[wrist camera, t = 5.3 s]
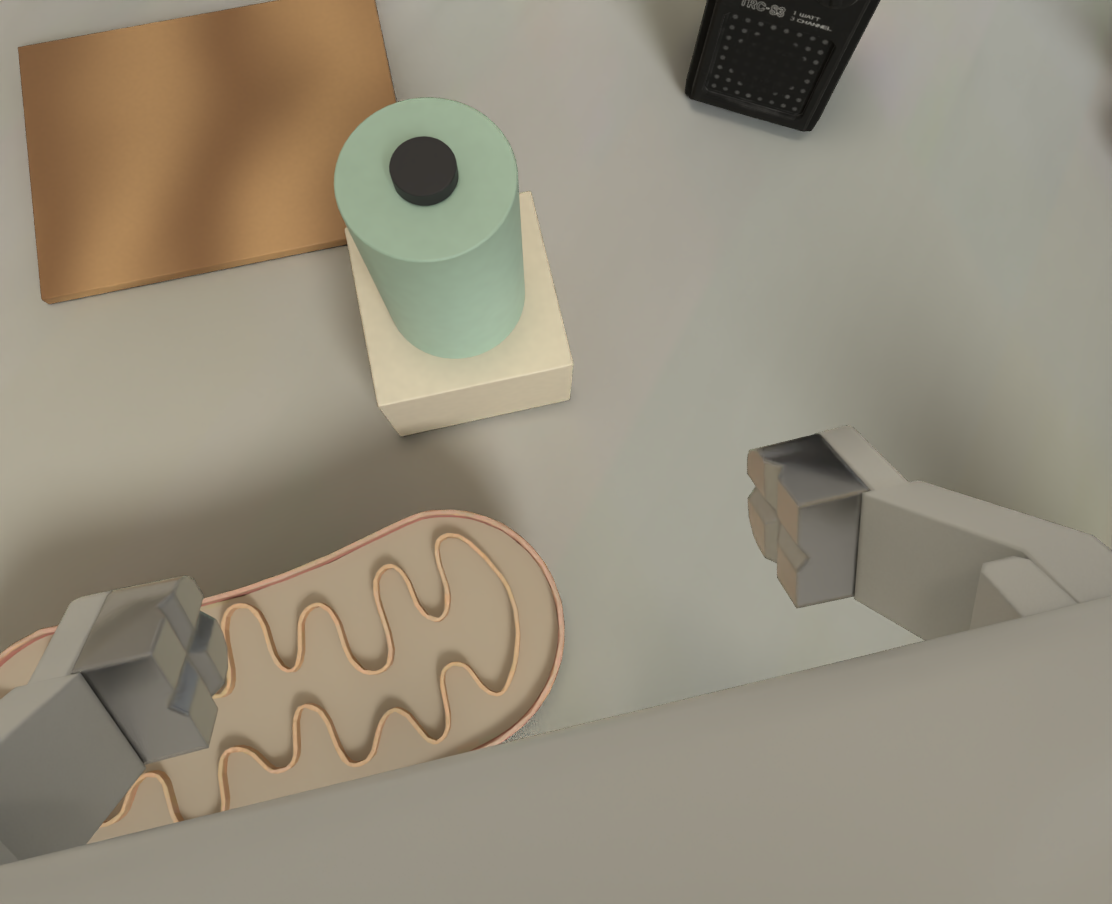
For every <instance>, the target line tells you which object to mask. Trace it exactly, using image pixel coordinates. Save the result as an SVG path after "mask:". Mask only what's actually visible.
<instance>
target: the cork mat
mask: <svg viewBox="0 0 1112 904" xmlns="http://www.w3.org/2000/svg"><path fill="white" fill-rule="evenodd" d="M18 53H19V64H20V74H21V85H22V96H23V107H24V117H25V128H26V139H27V149H28V160H29V171H30V182H31V192H32V203H33V214H34V225H35V235H36V246H37V257H38V267H39V278H40V289H41V299H42V300H43V301H45V302H46V303H48V304H52V303H57V302H62V301H67V300H72V299H77V298H82V297H87V296H92V295H97V294H102V293H107V292H112V291H117V290H122V289H127V288H132V287H137V286H142V285H147V284H152V283H157V282H162V281H167V280H172V279H177V278H182V277H187V276H192V275H197V274H202V273H207V272H212V271H217V270H222V269H227V268H232V267H237V266H242V265H247V264H251V263H256V262H261V261H266V260H271V259H276V258H281V257H286V256H291V255H296V254H301V253H306V252H311V251H316V250H321V249H326V248H331V247H336V246H341V245H346V244H347V240H346V235H345V228H346V227H347V226H346V224H345V222H344V220H343V218H342V216H341V213H340V211H339V209H338V206H337V202H336V199H335V192H334V173H335V167H336V163H337V160H338V157H339V154H340V151H341V149H342V147H343V145H344V143H345V142H346V140H347V139H348V137H349V136H350V134H351V133H352V132H353V131H354V130H355V129H356V128H357V126H358V125H359V124H361V123H362V122H363V121H364V120H365V119H366V118H368V117H369V116H370V115H372V114H373V113H375V112H376V111H378V110H380V109H382V108H384V107H386V106H388V105H391V104H394V103H396V97H395V92H394V87H393V83H392V78H391V73H390V68H389V64H388V59H387V54H386V49H385V45H384V40H383V35H382V30H381V26H380V21H379V16H378V11H377V7H376V2H375V0H277V1H271V2H265V3H260V4H254V5H249V6H243V7H238V8H232V9H227V10H221V11H216V12H210V13H205V14H199V15H193V16H188V17H182V18H177V19H171V20H166V21H160V22H155V23H149V24H144V25H138V26H133V27H127V28H121V29H116V30H110V31H105V32H99V33H94V34H88V35H83V36H77V37H72V38H66V39H61V40H55V41H49V42H44V43H38V44H33V45H27V46H22V47H18Z"/></svg>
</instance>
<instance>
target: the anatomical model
mask: <svg viewBox="0 0 1112 904" xmlns="http://www.w3.org/2000/svg"><path fill="white" fill-rule="evenodd" d="M200 611H202V612H204V613H206V614H208V615H210V616H211V617H213V618H215V619H217V621H218V623H219V625H220V627H221V629H222V631H223V634H224V637H225V641H226V644H227V649H228V671H227V676H226V680H225V684H224V685H223V686H222V687H221V688H220V689H219V690H218V691H217V692H216V693H215V694H214V695H213V697H212V698H213V700H214V701H215V703H216V705H217V707H218V713H217V717H216V721H215V725H214V729H213V733H212V737H211V741H210V745H209V748H207V749H203V750H199V751H195V752H192V753H188V754H184V755H180V756H177V757H173V758H169V759H165V760H161V761H158V762H154V763H150V764H146V765H145V766H146V769H145V770H144V771H143V773H142V774H141V775H140V776H139V778H138V779H137V780H136V781H135V783H134V784H133V785H132V787H131V788H130V789H129V790H128V792H127V793H126V794H125V795H124V797H123V798H122V799H121V801H120V802H119V803H118V804H117V806H116V807H115V808H114V809H113V811H112V812H111V813H110V814H109V816H108V817H107V818H106V820H105V821H104V822H103V823H102V825H101V826H100V827H99V828H98V830H97V831H96V832H95V834H94V835H93V836H92V837H91V839H90V840H89V841H88V842H87V844H90V843H94V842H98V841H102V840H106V839H110V838H114V837H119V836H123V835H127V834H131V833H135V832H139V831H143V830H147V829H152V828H156V827H160V826H164V825H168V824H172V823H176V822H180V821H185V820H189V819H193V818H197V817H201V816H205V815H209V814H213V813H218V812H222V811H226V810H230V809H234V808H238V807H242V806H247V805H251V804H255V803H259V802H263V801H267V800H271V799H275V798H280V797H284V796H288V795H292V794H296V793H300V792H304V791H308V790H313V789H317V788H321V787H325V786H329V785H333V784H337V783H341V782H346V781H350V780H354V779H358V778H362V777H366V776H370V775H375V774H379V773H383V772H387V771H391V770H395V769H399V768H403V767H408V766H412V765H416V764H420V763H424V762H428V761H432V760H436V759H440V758H444V757H449V756H453V755H457V754H461V753H465V752H469V751H473V750H477V749H481V748H485V747H489V746H494V745H498V744H500V743H502V742H503V741H505V740H506V739H508V738H509V737H510V736H512V735H513V734H514V733H515V732H517V731H518V730H519V729H520V728H522V727H523V726H524V725H525V724H526V723H527V722H528V721H529V719H530V718H531V717H532V716H533V715H534V714H535V713H536V712H537V711H538V709H539V708H540V706H541V705H542V703H543V701H544V700H545V698H546V697H547V695H548V694H549V692H550V690H551V688H552V686H553V683H554V681H555V679H556V677H557V674H558V670H559V667H560V664H561V660H562V654H563V647H564V629H565V624H564V616H563V609H562V602H561V599H560V596H559V593H558V590H557V587H556V584H555V581H554V579H553V577H552V575H551V573H550V571H549V570H548V568H547V566H546V564H545V563H544V561H543V560H542V559H541V557H540V556H539V555H538V553H537V552H536V551H535V550H534V548H533V547H532V546H531V545H530V544H529V543H528V542H527V541H525V540H524V539H523V538H522V537H521V536H520V535H519V534H517V533H516V532H514V531H513V530H512V529H510V528H509V527H507V526H506V525H505V524H503V523H500V522H498V521H496V520H493V519H491V518H489V517H486V516H482V515H479V514H475V513H472V512H469V511H459V510H430V511H425V512H420V513H417V514H415V515H412V516H410V517H407V518H405V519H402V520H400V521H398V522H396V523H394V524H392V525H389V526H387V527H385V528H383V529H381V530H379V531H377V532H375V533H373V534H371V535H369V536H366V537H364V538H362V539H360V540H358V541H356V542H354V543H352V544H350V545H348V546H346V547H343V548H341V549H339V550H337V551H335V552H333V553H331V554H329V555H326V556H324V557H321V558H319V559H317V560H314V561H312V562H309V563H307V564H305V565H302V566H300V567H297V568H295V569H293V570H290V571H288V572H285V573H283V574H280V575H277V576H274V577H271V578H268V579H265V580H263V581H260V582H257V583H254V584H251V585H248V586H245V587H242V588H239V589H236V590H232V591H229V592H225V593H222V594H218V595H215V596H211V597H207V598H204V599H203V601H202V605H201V608H200ZM57 627H58V625H57V626H52V627H47V628H42V629H40V630H38V631H36V632H34V633H32V634H30V635H28V636H27V637H25V638H23V639H21V640H19V641H17V642H15V643H13V644H12V645H11V646H9V647H8V648H7V649H6V650H4V651H3V652H2V653H1V654H0V699H2V698H3V697H4V696H5V695H6V694H8V693H9V692H10V691H11V690H13V689H14V688H15V687H19V686H23V685H27V684H28V682H29V680H30V678H31V676H32V674H33V673H34V671H35V669H36V667H37V665H38V663H39V661H40V659H41V657H42V656H43V654H44V652H45V650H46V648H47V646H48V644H49V642H50V640H51V638H52V637H53V635H54V633H55V631H56V629H57Z"/></svg>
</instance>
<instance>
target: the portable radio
mask: <svg viewBox="0 0 1112 904" xmlns="http://www.w3.org/2000/svg"><path fill="white" fill-rule="evenodd" d="M879 2H880V0H707V3H706V6H705V10H704V14H703V18H702V22H701V26H700V30H699V34H698V37H697V41H696V45H695V49H694V53H693V56H692V60H691V64H690V68H689V72H688V76H687V79H686V87H685V93H686V94H687V95H688V96H689V97H690V98H691V99H694V100H697V101H701V102H704V103H707V104H711V105H714V106H717V107H721V108H724V109H727V110H730V111H734V112H737V113H740V114H744V115H747V116H751V117H754V118H758V119H761V120H765V121H769V122H772V123H776V124H779V125H783V126H786V127H790V128H794V129H797V130H801V131H811V130H812V129H813V127H814V126H815V124H816V123H817V121H818V120H819V118H820V117H821V115H822V113H823V111H824V109H825V107H826V105H827V103H828V101H829V99H830V97H831V95H832V93H833V91H834V89H835V87H836V85H837V83H838V81H839V79H840V77H841V75H842V73H843V71H844V69H845V68H846V66H847V64H848V62H849V60H850V58H851V56H852V54H853V52H854V50H855V48H856V46H857V44H858V42H859V41H860V39H861V37H862V35H863V33H864V31H865V29H866V27H867V25H868V23H869V21H870V19H871V17H872V16H873V14H874V12H875V10H876V8H877V6H878V4H879Z"/></svg>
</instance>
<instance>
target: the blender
mask: <svg viewBox="0 0 1112 904" xmlns="http://www.w3.org/2000/svg"><path fill="white" fill-rule="evenodd" d="M334 192H335V199H336V202H337V206H338V209H339V211H340V213H341V216H342V218H343V220H344V222H345V224H346V226H347V227H346V228H345V235H346V240H347V245H348V251H349V256H350V261H351V267H352V272H353V277H354V283H355V288H356V293H357V299H358V304H359V309H360V315H361V320H362V325H363V331H364V336H365V341H366V347H367V352H368V357H369V363H370V368H371V374H372V379H373V384H374V390H375V395H376V400H377V406H378V407H379V408H380V410H381V411H382V412H383V414H384V415H385V416H386V418H387V419H388V420H389V422H390V423H391V424H392V426H393V427H394V428H395V430H396V431H397V432H398V434H399V435H400V436H406V435H410V434H415V433H420V432H424V431H429V430H433V429H438V428H443V427H447V426H452V425H456V424H461V423H466V422H470V421H475V420H479V419H484V418H489V417H493V416H498V415H503V414H507V413H512V412H516V411H521V410H526V409H530V408H535V407H539V406H544V405H549V404H553V403H558V402H562V401H567V400H569V399H570V392H571V383H572V373H573V360H572V355H571V351H570V347H569V343H568V339H567V335H566V331H565V327H564V323H563V319H562V315H561V311H560V307H559V303H558V299H557V295H556V291H555V286H554V282H553V278H552V274H551V270H550V266H549V262H548V258H547V254H546V250H545V246H544V242H543V238H542V234H541V230H540V226H539V222H538V217H537V213H536V209H535V205H534V201H533V197H532V193H531V192H530V191H527V192H522V193H519V183H518V170H517V164H516V159H515V156H514V153H513V150H512V148H511V146H510V144H509V142H508V140H507V139H506V137H505V136H504V134H503V133H502V131H501V130H500V129H499V128H498V127H497V126H496V125H495V124H494V123H493V122H492V121H491V120H490V119H489V118H487V117H486V116H485V115H483V114H482V113H480V112H479V111H477V110H476V109H474V108H472V107H470V106H467V105H465V104H462V103H459V102H457V101H453V100H448V99H443V98H433V97H428V98H414V99H408V100H404V101H400V102H396V103H394V104H391V105H388V106H386V107H384V108H382V109H380V110H378V111H376V112H375V113H373V114H372V115H370V116H369V117H368V118H366V119H365V120H364V121H363V122H362V123H361V124H359V125H358V126H357V128H356V129H355V130H354V131H353V132H352V133H351V134H350V136H349V137H348V139H347V140H346V142H345V143H344V145H343V147H342V149H341V151H340V154H339V157H338V160H337V163H336V167H335V173H334Z"/></svg>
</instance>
